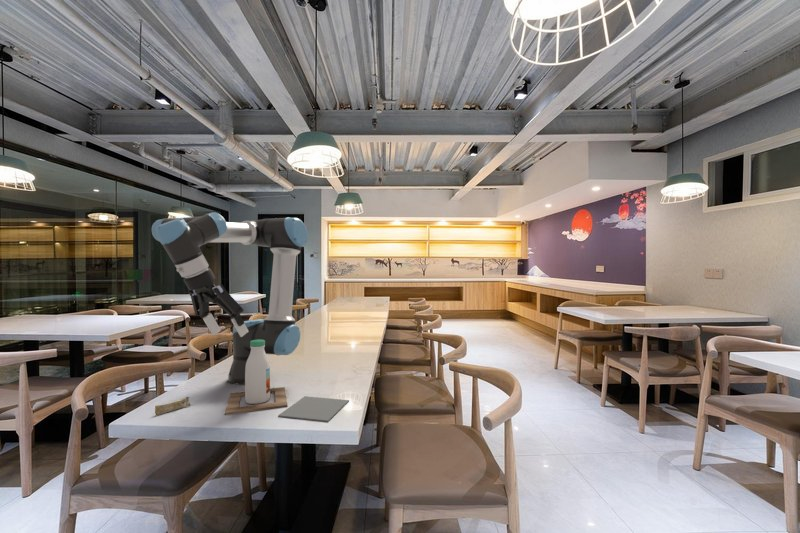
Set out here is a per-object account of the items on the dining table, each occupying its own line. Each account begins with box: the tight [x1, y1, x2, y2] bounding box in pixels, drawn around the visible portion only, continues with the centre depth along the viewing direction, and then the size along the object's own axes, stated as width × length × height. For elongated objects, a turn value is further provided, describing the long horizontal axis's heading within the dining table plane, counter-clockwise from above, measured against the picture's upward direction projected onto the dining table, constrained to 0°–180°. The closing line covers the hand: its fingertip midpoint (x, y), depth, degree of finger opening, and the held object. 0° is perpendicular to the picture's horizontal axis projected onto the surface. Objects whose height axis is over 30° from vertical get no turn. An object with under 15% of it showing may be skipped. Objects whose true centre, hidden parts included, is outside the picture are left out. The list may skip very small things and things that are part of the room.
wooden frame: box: [224, 386, 288, 416], centre depth 118 cm, size 18×18×1 cm
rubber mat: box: [277, 395, 350, 423], centre depth 111 cm, size 16×16×1 cm
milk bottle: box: [244, 339, 271, 405], centre depth 118 cm, size 8×8×20 cm
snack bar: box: [154, 396, 191, 416], centre depth 110 cm, size 10×2×3 cm, turn 141°
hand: (230, 333), depth 109 cm, fingers open, 13 cm apart
